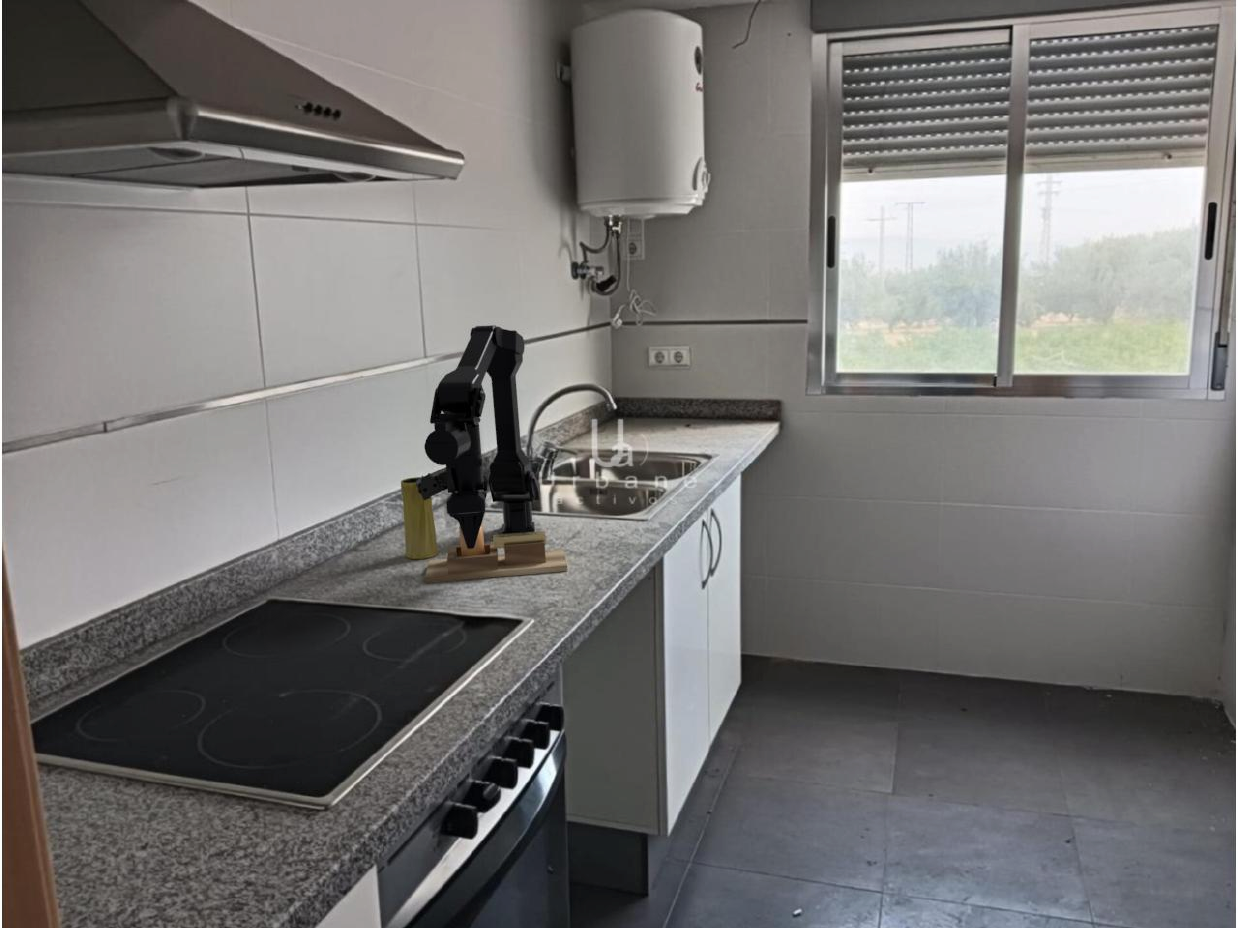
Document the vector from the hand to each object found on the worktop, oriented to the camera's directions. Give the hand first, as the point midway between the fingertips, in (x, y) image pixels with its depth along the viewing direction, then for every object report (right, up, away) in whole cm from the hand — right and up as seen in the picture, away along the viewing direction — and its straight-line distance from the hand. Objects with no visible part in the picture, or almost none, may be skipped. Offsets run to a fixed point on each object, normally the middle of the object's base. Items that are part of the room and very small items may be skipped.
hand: (471, 541), depth 172 cm
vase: (-11, -4, +12) cm, 17 cm away
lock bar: (+8, -1, +1) cm, 8 cm away
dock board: (+4, -5, +2) cm, 7 cm away
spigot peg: (0, -4, +1) cm, 4 cm away
